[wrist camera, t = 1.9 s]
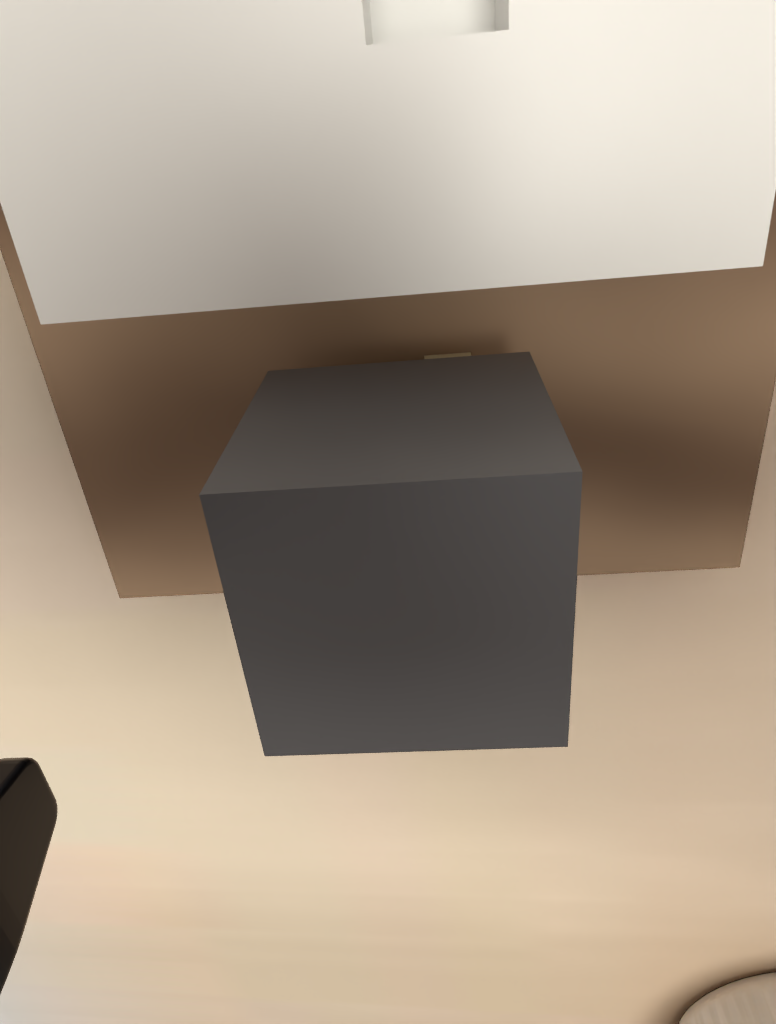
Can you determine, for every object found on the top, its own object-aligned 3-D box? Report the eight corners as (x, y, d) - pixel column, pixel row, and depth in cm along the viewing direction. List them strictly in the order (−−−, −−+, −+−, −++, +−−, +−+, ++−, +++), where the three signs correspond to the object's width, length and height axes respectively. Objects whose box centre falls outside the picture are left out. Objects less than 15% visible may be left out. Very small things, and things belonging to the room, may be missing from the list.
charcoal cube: (517, 528, 17) (568, 747, 12) (315, 539, 18) (264, 756, 12) (517, 325, 15) (582, 471, 9) (283, 343, 15) (199, 494, 9)
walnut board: (724, 545, 19) (739, 567, 18) (132, 576, 20) (119, 597, 19) (966, -834, 9) (1027, -937, 8) (-251, -601, 10) (-314, -668, 9)
